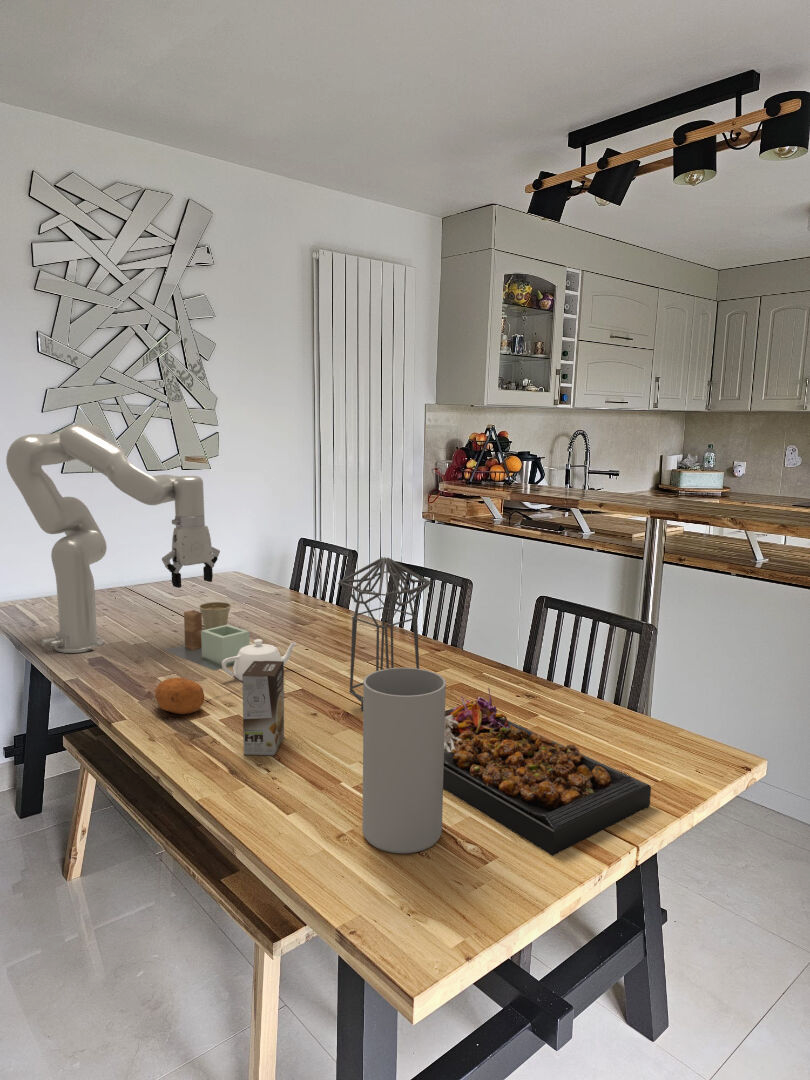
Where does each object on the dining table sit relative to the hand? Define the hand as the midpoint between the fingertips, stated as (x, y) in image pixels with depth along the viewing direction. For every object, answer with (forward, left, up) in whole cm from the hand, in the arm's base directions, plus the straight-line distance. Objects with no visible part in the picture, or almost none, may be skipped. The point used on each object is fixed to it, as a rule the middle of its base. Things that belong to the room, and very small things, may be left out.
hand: (192, 584), depth 202 cm
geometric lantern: (+5, -67, -19) cm, 70 cm away
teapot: (-1, -31, -19) cm, 36 cm away
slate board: (0, -8, -19) cm, 21 cm away
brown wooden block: (0, 0, -18) cm, 18 cm away
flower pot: (+14, +10, -19) cm, 26 cm away
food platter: (-2, -104, -20) cm, 106 cm away
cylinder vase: (-29, -103, -19) cm, 109 cm away
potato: (-26, -34, -19) cm, 47 cm away
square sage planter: (0, -15, -18) cm, 23 cm away
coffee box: (-24, -62, -19) cm, 69 cm away
